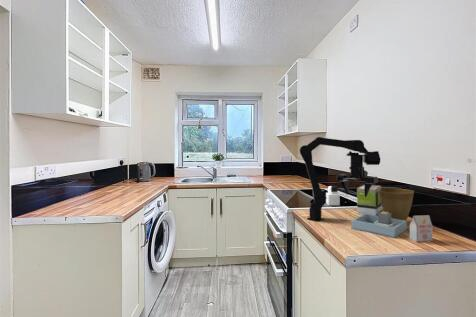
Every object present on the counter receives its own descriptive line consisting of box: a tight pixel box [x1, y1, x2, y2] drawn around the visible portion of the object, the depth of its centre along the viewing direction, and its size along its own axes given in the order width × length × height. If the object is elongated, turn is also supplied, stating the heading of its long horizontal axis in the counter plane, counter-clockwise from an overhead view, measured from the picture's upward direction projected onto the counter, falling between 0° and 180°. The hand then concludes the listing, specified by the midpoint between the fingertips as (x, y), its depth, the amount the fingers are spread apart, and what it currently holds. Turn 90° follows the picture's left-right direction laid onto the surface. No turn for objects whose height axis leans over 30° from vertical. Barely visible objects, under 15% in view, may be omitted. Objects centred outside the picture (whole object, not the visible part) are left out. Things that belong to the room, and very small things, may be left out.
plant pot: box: [379, 188, 415, 221], centre depth 132 cm, size 15×15×16 cm
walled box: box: [351, 214, 408, 239], centre depth 122 cm, size 16×18×4 cm
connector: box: [377, 210, 391, 225], centre depth 120 cm, size 4×4×7 cm
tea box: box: [356, 184, 383, 216], centre depth 153 cm, size 15×10×15 cm, turn 141°
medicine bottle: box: [325, 185, 341, 206], centre depth 175 cm, size 7×7×12 cm
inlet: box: [374, 221, 396, 227], centre depth 120 cm, size 7×7×3 cm
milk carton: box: [409, 214, 434, 243], centre depth 107 cm, size 4×7×10 cm, turn 96°
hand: (356, 195), depth 135 cm, fingers open, 9 cm apart
